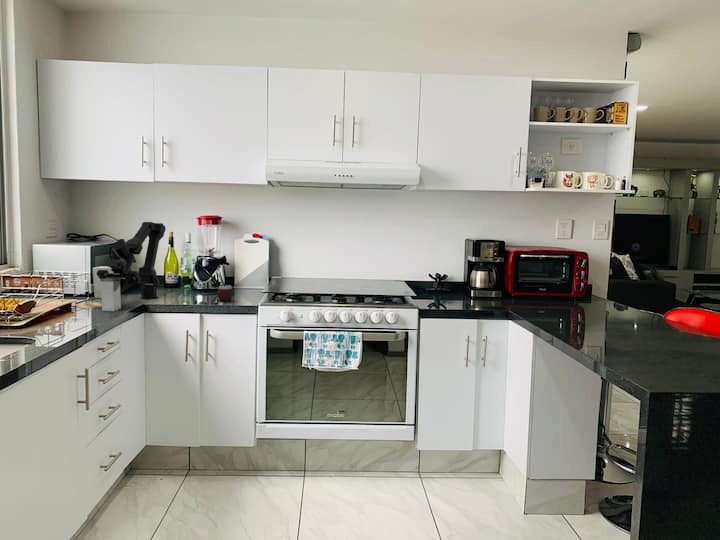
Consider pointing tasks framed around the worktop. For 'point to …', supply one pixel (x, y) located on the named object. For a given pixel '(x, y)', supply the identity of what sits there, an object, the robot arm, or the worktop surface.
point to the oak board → (89, 305)
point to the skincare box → (98, 280)
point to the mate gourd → (224, 292)
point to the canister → (110, 294)
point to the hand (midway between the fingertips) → (111, 291)
